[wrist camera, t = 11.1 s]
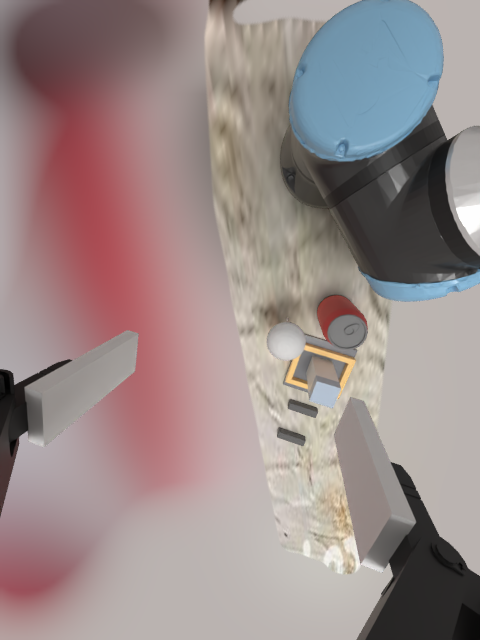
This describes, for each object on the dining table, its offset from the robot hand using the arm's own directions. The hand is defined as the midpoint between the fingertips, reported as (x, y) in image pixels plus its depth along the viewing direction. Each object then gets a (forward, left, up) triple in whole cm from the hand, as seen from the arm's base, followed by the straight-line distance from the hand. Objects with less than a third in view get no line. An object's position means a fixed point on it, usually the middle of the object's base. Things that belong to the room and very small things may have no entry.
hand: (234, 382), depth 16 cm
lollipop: (+6, +4, -37) cm, 37 cm away
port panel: (+14, +13, -37) cm, 41 cm away
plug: (+14, +13, -36) cm, 41 cm away
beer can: (+2, +12, -37) cm, 39 cm away
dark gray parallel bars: (+28, +13, -37) cm, 48 cm away
